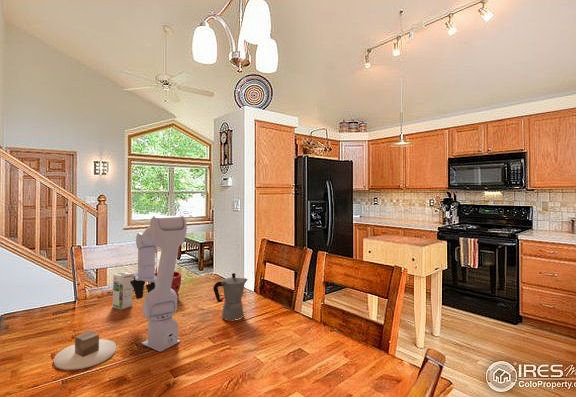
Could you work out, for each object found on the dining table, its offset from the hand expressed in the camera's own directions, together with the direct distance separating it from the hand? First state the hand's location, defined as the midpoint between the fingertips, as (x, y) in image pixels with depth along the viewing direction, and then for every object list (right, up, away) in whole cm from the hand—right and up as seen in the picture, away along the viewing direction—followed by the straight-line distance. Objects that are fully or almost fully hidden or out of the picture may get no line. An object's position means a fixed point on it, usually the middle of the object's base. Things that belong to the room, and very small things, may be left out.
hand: (145, 300), depth 117 cm
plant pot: (-3, -9, +27) cm, 29 cm away
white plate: (-8, -10, -22) cm, 25 cm away
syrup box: (-18, -9, +17) cm, 27 cm away
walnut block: (-8, -9, -22) cm, 25 cm away
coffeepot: (+30, -10, +9) cm, 33 cm away
